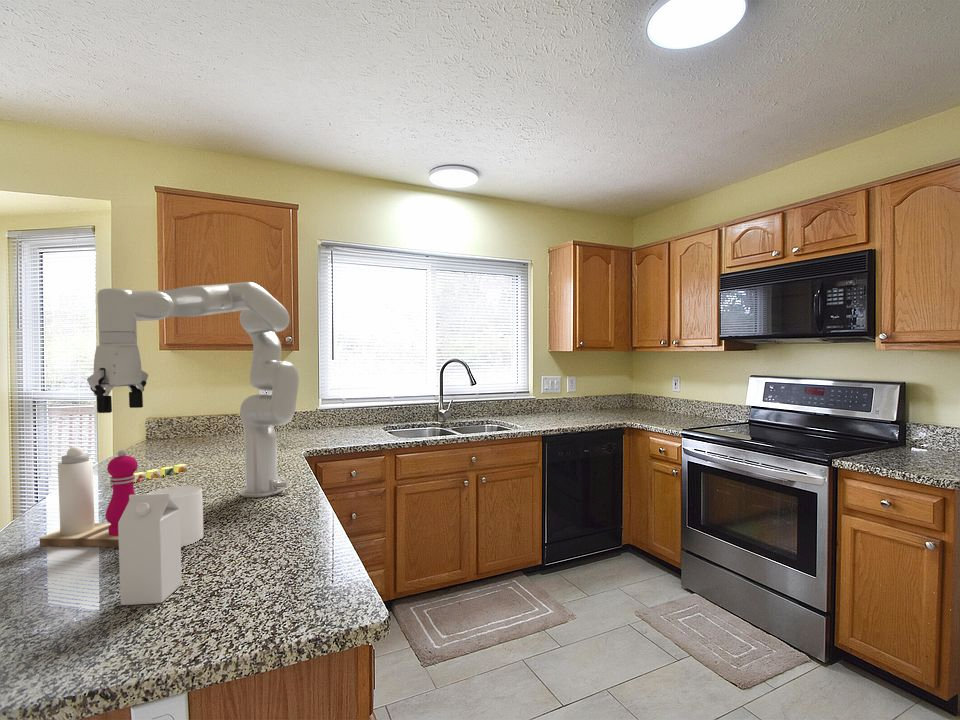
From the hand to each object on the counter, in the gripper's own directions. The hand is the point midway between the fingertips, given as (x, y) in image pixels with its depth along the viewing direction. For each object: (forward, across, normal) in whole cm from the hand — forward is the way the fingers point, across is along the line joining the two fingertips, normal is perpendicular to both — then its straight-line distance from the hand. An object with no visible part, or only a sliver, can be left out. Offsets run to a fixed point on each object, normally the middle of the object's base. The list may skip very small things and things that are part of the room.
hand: (121, 410), depth 121 cm
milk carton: (+32, +28, +28) cm, 50 cm away
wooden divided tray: (+32, 0, -6) cm, 32 cm away
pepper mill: (+30, +1, 0) cm, 30 cm away
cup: (+32, +2, +14) cm, 35 cm away
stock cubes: (+33, -56, -34) cm, 74 cm away
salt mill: (+30, 0, -12) cm, 32 cm away
